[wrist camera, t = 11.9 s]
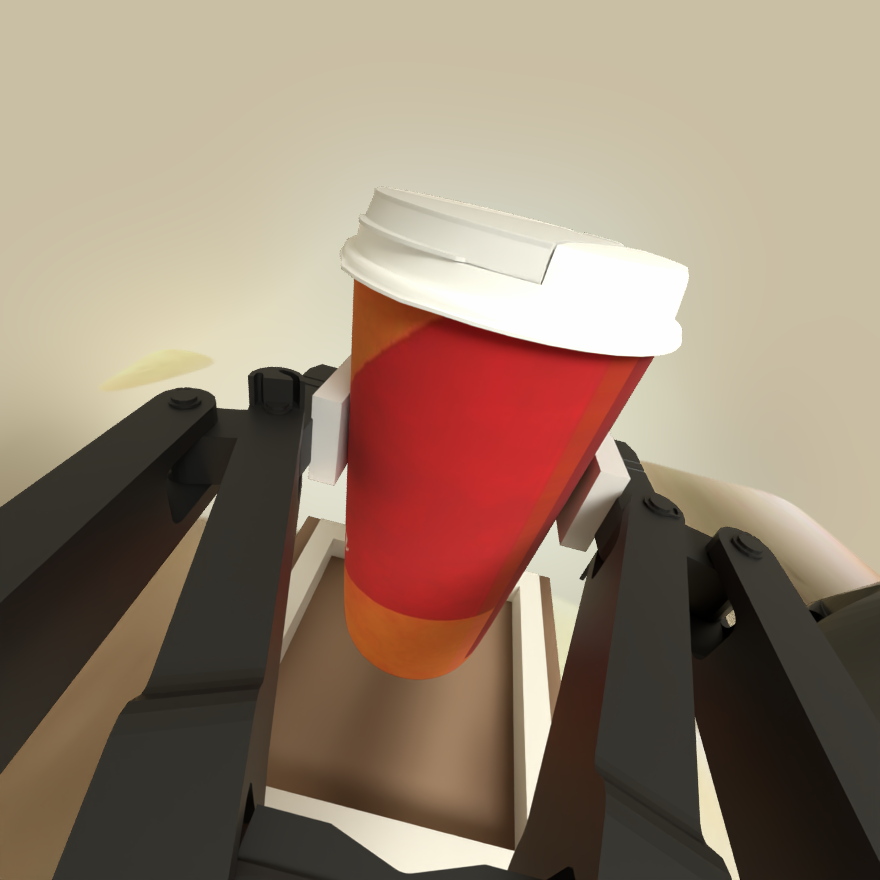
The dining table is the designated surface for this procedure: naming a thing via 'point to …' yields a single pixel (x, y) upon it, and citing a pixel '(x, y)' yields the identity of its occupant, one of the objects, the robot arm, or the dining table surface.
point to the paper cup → (477, 407)
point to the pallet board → (410, 725)
